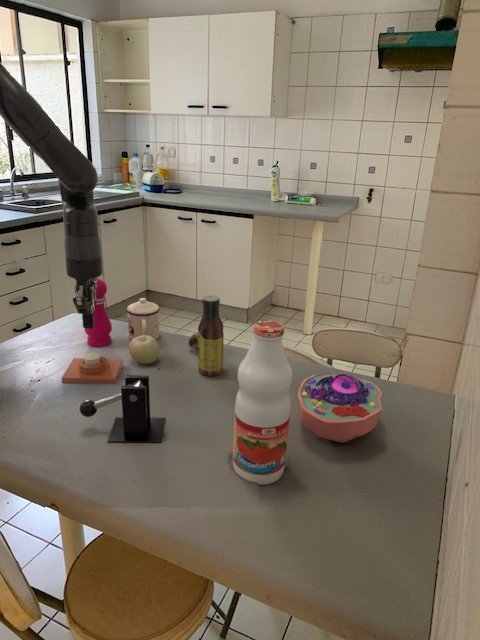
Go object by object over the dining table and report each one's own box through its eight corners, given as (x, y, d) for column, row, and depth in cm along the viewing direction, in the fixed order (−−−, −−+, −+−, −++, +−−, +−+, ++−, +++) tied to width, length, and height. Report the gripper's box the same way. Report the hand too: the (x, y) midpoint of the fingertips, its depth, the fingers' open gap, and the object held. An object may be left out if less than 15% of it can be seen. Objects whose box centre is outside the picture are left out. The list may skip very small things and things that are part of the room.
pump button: (83, 366, 108) (82, 359, 108) (86, 359, 112) (86, 352, 111) (98, 366, 109) (98, 359, 108) (102, 359, 112) (101, 352, 111)
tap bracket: (107, 446, 87) (103, 392, 83) (116, 422, 95) (112, 371, 90) (161, 447, 88) (159, 393, 83) (165, 422, 95) (164, 371, 91)
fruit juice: (279, 451, 88) (292, 314, 78) (288, 486, 80) (304, 337, 69) (230, 452, 87) (236, 314, 77) (234, 487, 79) (241, 337, 68)
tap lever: (83, 422, 88) (74, 409, 87) (87, 413, 91) (79, 400, 89) (145, 398, 86) (137, 385, 85) (147, 389, 89) (139, 376, 88)
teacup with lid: (128, 331, 137) (126, 294, 133) (159, 329, 139) (158, 293, 134) (127, 348, 126) (125, 308, 122) (161, 347, 128) (160, 307, 124)
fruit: (159, 354, 124) (159, 327, 121) (159, 367, 117) (158, 339, 114) (130, 355, 123) (129, 327, 120) (128, 368, 116) (126, 339, 113)
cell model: (274, 435, 93) (278, 386, 88) (321, 395, 108) (326, 352, 103) (352, 472, 83) (361, 419, 79) (392, 423, 98) (401, 376, 94)
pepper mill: (80, 343, 128) (73, 273, 121) (101, 335, 134) (96, 268, 126) (97, 350, 124) (91, 279, 117) (118, 341, 130) (114, 273, 122)
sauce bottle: (204, 363, 120) (205, 291, 112) (226, 368, 118) (229, 295, 110) (193, 374, 114) (193, 299, 107) (216, 380, 112) (218, 303, 105)
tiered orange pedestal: (62, 386, 107) (60, 371, 105) (74, 366, 116) (72, 351, 114) (114, 386, 107) (113, 371, 106) (122, 366, 117) (122, 352, 115)
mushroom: (213, 349, 120) (209, 326, 122) (186, 356, 123) (182, 334, 124) (224, 352, 128) (220, 330, 129) (198, 358, 130) (194, 337, 131)
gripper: (74, 246, 106) (79, 316, 113) (56, 261, 94) (63, 338, 101) (107, 247, 107) (111, 317, 113) (93, 262, 95) (98, 339, 101)
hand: (88, 327), depth 107 cm, fingers closed
